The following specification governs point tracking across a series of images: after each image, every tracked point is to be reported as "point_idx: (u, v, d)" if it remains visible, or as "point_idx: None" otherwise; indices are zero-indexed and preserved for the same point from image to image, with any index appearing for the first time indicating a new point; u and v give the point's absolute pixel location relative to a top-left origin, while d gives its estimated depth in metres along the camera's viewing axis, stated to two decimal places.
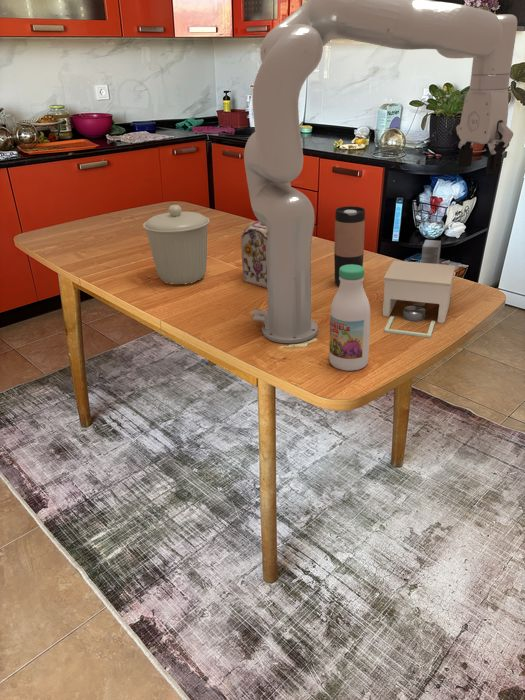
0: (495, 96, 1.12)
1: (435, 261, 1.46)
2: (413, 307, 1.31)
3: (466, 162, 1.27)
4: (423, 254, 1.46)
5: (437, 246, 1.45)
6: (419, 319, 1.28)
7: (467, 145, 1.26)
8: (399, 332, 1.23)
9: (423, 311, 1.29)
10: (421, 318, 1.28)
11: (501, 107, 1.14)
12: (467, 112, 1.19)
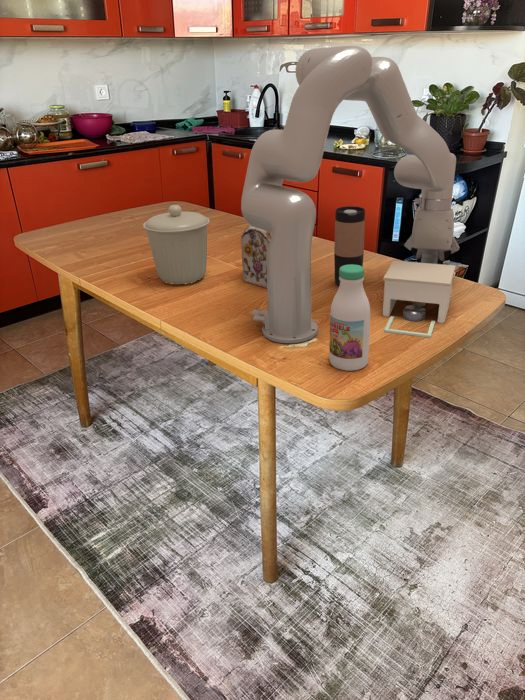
0: (452, 214, 1.40)
1: (435, 261, 1.46)
2: (412, 307, 1.31)
3: None
4: (423, 254, 1.46)
5: None
6: (421, 319, 1.28)
7: (421, 253, 1.49)
8: (399, 332, 1.23)
9: (423, 310, 1.29)
10: (422, 317, 1.28)
11: (453, 221, 1.42)
12: (423, 226, 1.43)
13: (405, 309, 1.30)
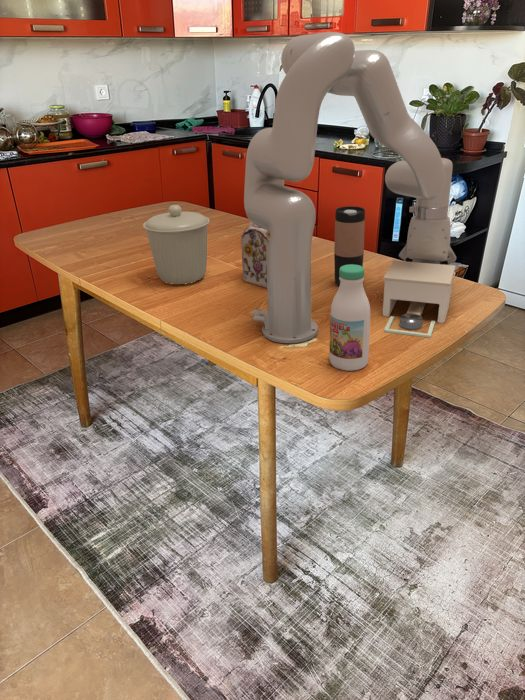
0: (449, 223, 1.33)
1: None
2: (408, 315, 1.27)
3: None
4: None
5: None
6: (418, 327, 1.25)
7: None
8: (399, 332, 1.23)
9: (420, 318, 1.25)
10: (420, 326, 1.25)
11: (450, 230, 1.35)
12: (418, 236, 1.36)
13: (402, 318, 1.26)
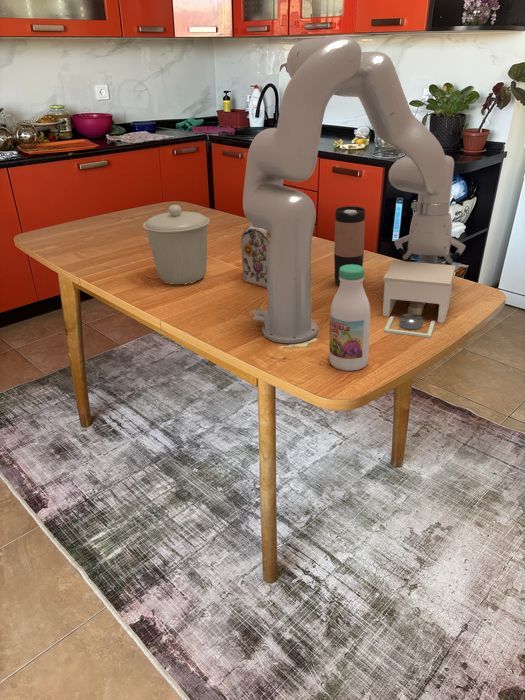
0: (450, 219, 1.36)
1: None
2: (408, 315, 1.27)
3: None
4: (420, 261, 1.42)
5: None
6: (418, 327, 1.25)
7: (409, 256, 1.45)
8: (399, 332, 1.23)
9: (420, 318, 1.25)
10: (420, 326, 1.25)
11: (451, 226, 1.38)
12: (419, 232, 1.38)
13: (401, 318, 1.26)
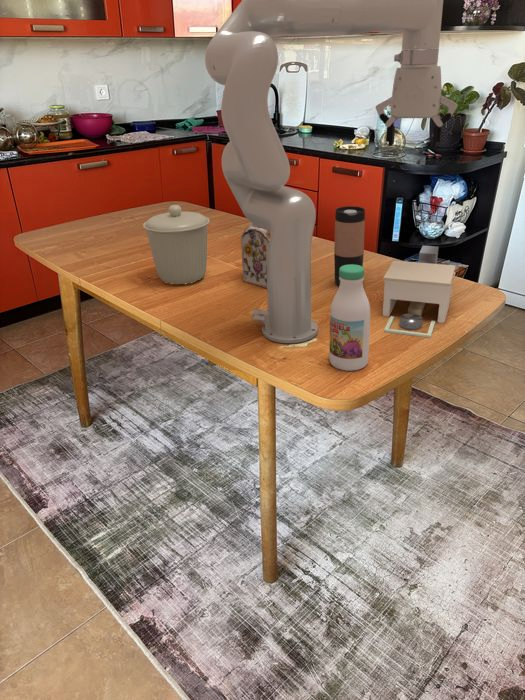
0: (439, 69, 1.16)
1: None
2: (408, 315, 1.27)
3: (393, 140, 1.27)
4: (420, 261, 1.42)
5: (434, 253, 1.40)
6: (418, 327, 1.25)
7: (392, 123, 1.25)
8: (399, 332, 1.23)
9: (420, 318, 1.25)
10: (420, 326, 1.25)
11: None
12: (404, 88, 1.19)
13: (402, 318, 1.26)
